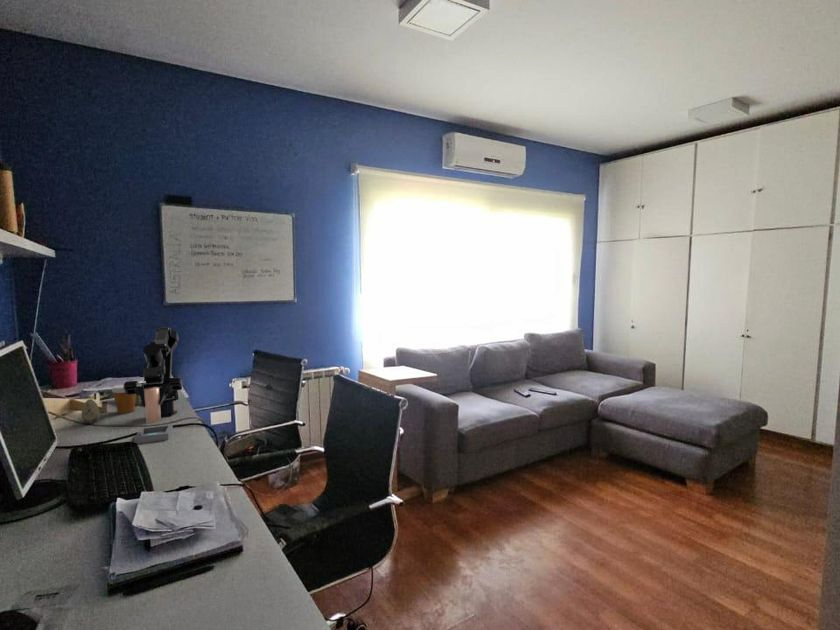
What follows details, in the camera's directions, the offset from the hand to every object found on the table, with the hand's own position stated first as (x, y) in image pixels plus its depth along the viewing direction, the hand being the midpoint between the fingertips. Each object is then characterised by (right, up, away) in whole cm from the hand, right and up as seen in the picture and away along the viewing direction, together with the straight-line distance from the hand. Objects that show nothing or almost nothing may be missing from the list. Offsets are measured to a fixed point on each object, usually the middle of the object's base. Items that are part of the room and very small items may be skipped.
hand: (151, 405), depth 158 cm
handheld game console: (-58, -5, +89) cm, 106 cm away
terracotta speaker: (-1, -6, +2) cm, 7 cm away
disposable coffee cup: (-32, -10, +32) cm, 46 cm away
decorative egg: (-36, -11, +17) cm, 42 cm away
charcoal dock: (-1, -12, +2) cm, 13 cm away
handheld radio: (-38, -9, +46) cm, 60 cm away
